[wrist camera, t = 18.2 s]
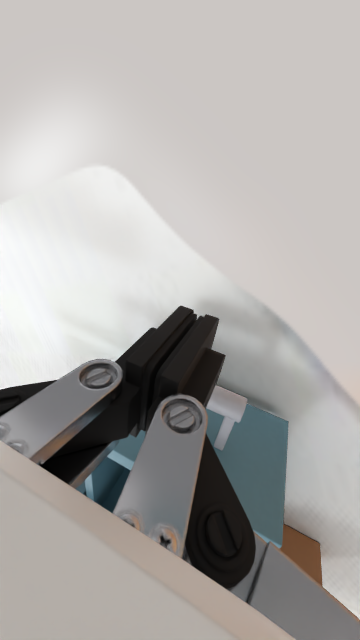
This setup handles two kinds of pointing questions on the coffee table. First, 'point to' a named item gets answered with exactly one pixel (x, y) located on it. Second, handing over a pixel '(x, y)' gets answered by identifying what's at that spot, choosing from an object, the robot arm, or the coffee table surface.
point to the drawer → (234, 454)
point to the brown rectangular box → (302, 552)
